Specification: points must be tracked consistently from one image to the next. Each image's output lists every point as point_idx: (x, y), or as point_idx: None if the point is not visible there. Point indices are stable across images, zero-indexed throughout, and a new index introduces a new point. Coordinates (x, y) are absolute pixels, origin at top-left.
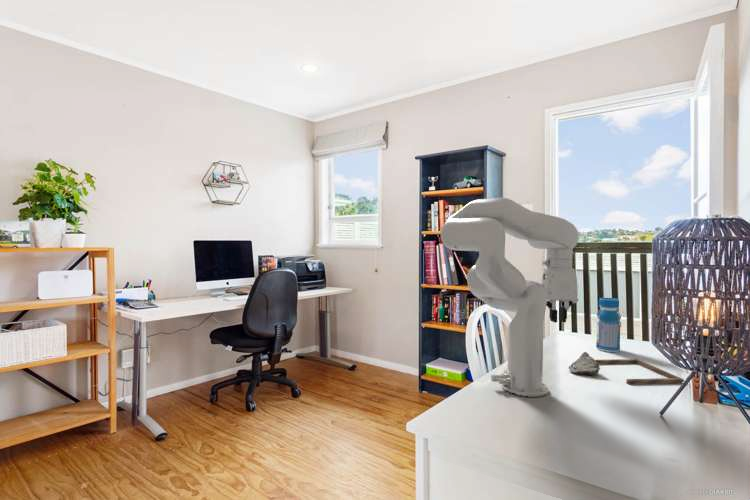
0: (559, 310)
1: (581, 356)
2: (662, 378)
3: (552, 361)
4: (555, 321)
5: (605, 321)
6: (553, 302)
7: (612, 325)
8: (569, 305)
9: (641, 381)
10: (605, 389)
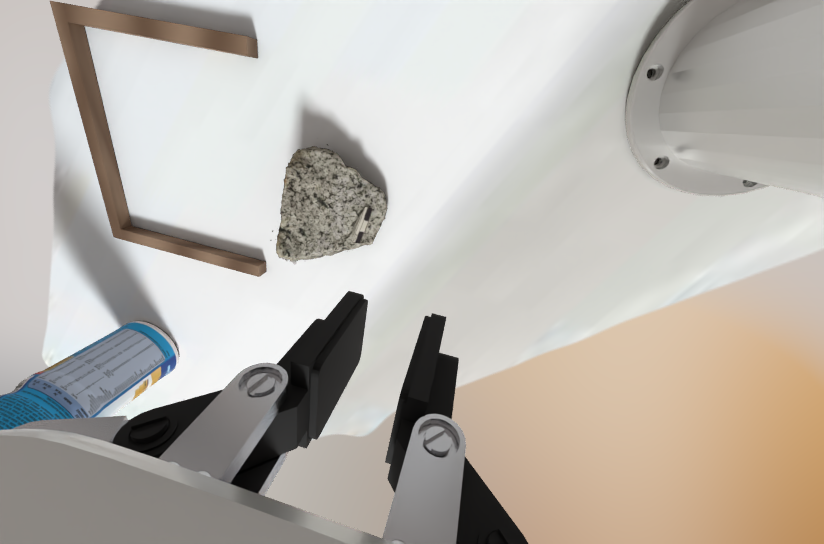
0: (323, 424)
1: (303, 250)
2: (117, 29)
3: (371, 323)
4: (443, 319)
5: (63, 407)
6: (433, 534)
7: (57, 381)
8: (199, 408)
9: (203, 29)
10: (382, 3)
